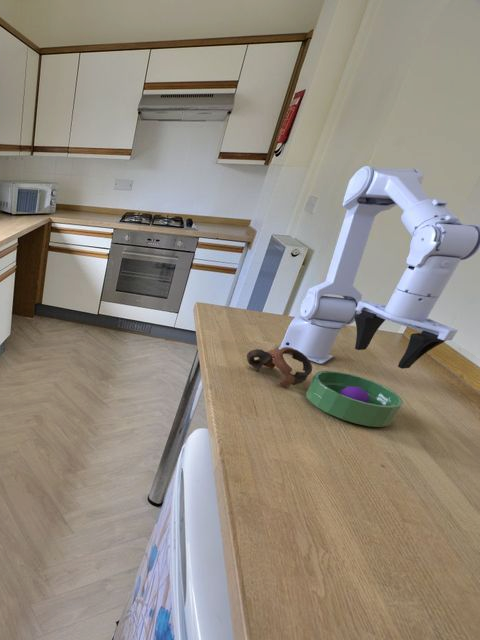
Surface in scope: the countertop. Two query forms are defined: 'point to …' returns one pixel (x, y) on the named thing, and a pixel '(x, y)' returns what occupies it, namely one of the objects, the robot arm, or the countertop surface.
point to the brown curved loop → (281, 364)
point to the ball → (355, 393)
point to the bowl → (369, 414)
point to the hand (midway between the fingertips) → (380, 357)
